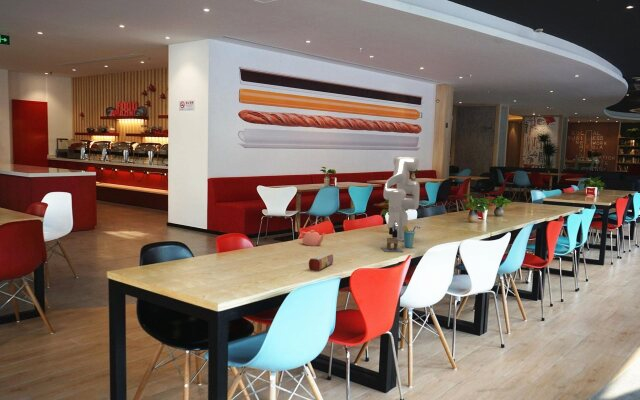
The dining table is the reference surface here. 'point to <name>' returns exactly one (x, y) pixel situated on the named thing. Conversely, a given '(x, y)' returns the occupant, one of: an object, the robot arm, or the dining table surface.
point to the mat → (391, 250)
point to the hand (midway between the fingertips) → (393, 236)
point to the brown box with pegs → (392, 240)
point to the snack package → (320, 261)
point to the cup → (408, 236)
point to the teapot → (312, 238)
